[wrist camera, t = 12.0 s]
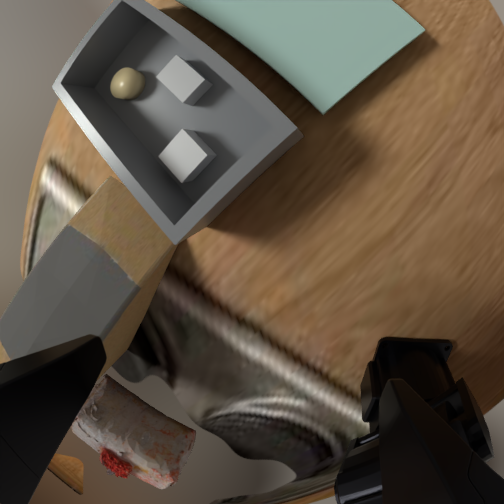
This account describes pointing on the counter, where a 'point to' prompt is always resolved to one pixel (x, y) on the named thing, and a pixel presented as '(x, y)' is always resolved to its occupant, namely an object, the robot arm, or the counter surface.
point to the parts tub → (170, 116)
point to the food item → (133, 435)
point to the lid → (315, 39)
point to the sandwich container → (90, 279)
